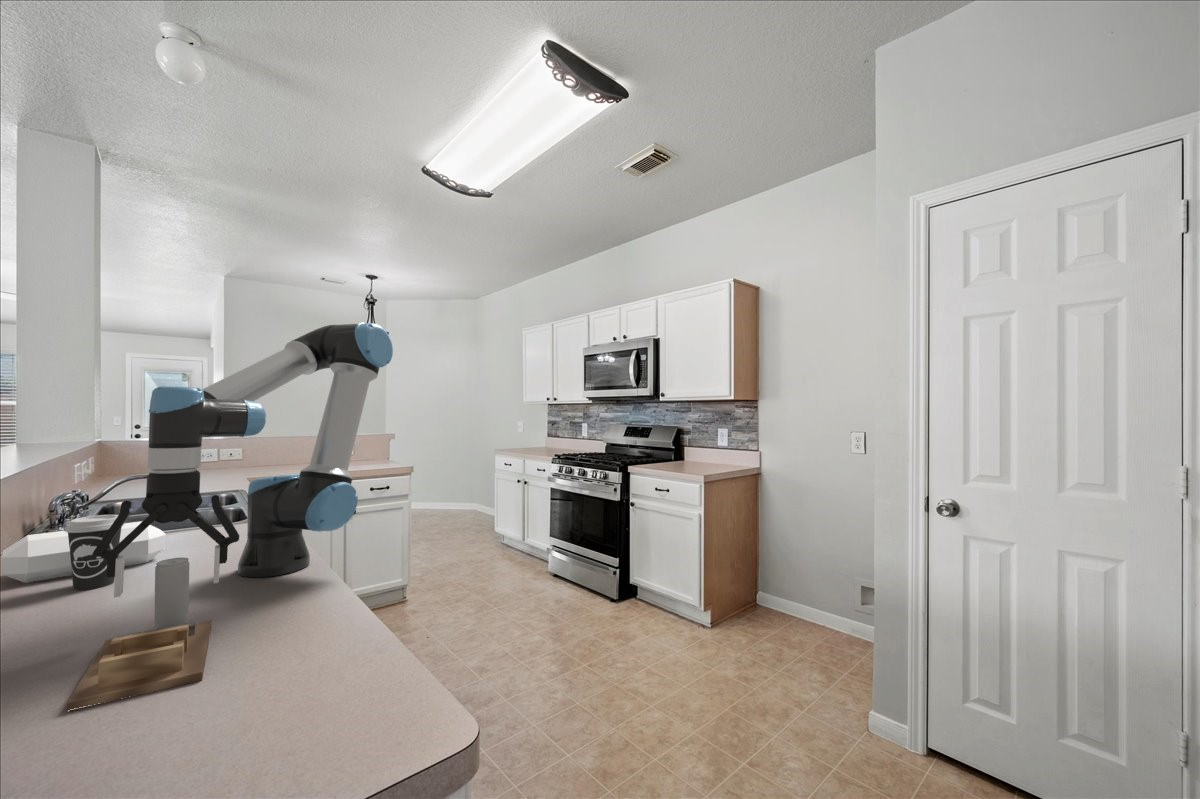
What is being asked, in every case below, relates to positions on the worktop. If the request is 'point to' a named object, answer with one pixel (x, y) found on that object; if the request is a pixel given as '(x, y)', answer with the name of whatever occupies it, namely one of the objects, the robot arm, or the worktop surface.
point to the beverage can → (171, 592)
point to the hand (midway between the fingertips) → (169, 588)
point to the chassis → (144, 664)
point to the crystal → (52, 553)
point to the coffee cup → (89, 551)
